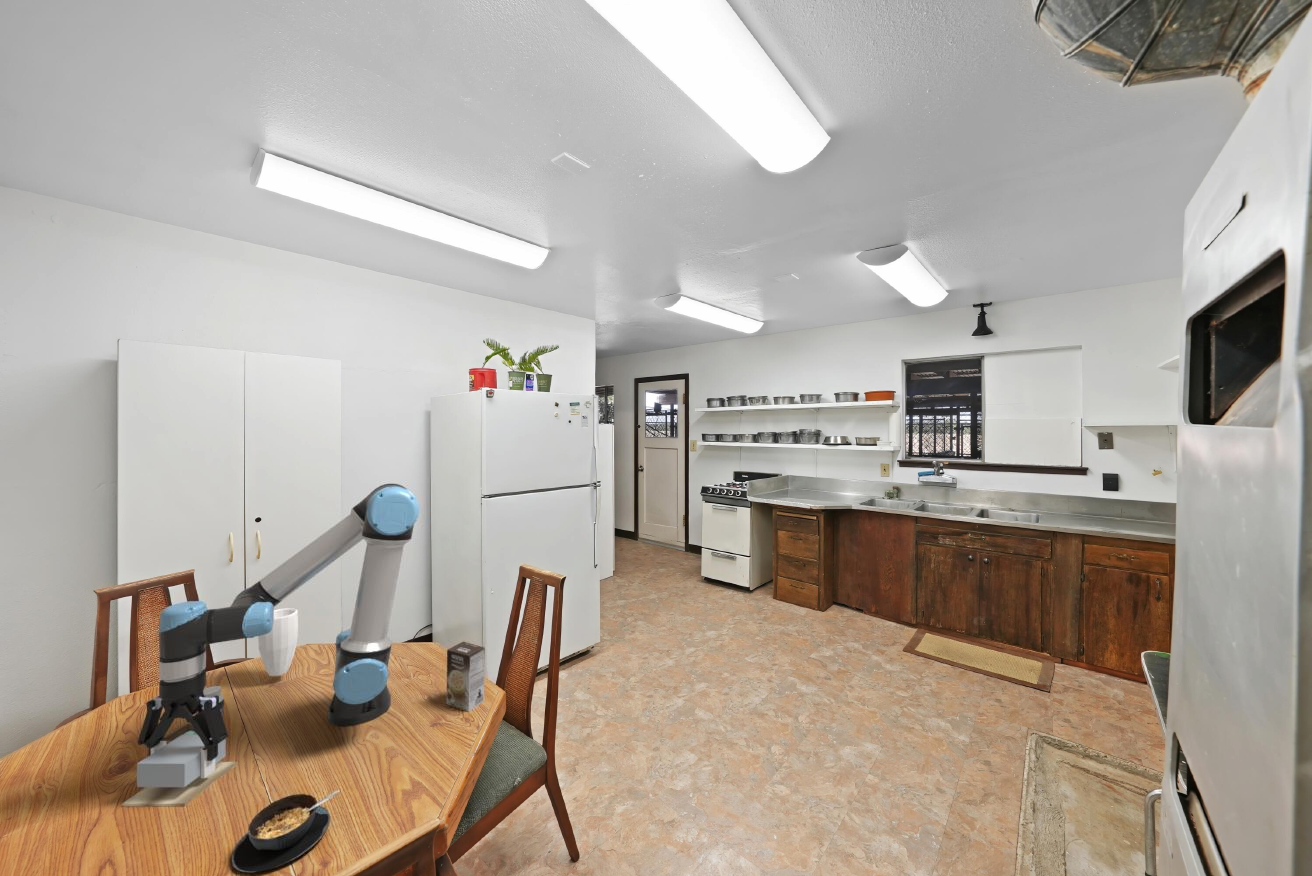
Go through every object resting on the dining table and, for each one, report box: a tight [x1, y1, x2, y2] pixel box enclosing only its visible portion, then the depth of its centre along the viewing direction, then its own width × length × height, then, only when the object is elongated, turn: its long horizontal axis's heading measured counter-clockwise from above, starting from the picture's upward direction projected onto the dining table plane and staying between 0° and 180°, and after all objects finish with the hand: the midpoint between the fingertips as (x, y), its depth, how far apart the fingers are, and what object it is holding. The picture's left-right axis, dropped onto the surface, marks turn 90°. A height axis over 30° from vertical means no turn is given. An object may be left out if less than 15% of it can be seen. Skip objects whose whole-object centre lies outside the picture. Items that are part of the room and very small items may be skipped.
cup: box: [257, 607, 299, 677], centre depth 154 cm, size 10×10×22 cm
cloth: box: [121, 761, 238, 807], centre depth 109 cm, size 13×13×1 cm
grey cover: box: [136, 735, 227, 788], centre depth 109 cm, size 10×10×5 cm
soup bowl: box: [230, 789, 341, 873], centre depth 94 cm, size 15×16×7 cm
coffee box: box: [446, 641, 486, 712], centre depth 142 cm, size 9×6×16 cm
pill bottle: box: [194, 685, 225, 722], centre depth 130 cm, size 6×6×10 cm
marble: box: [183, 731, 197, 735], centre depth 122 cm, size 3×3×3 cm
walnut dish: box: [160, 721, 198, 745], centre depth 120 cm, size 9×9×5 cm
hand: (183, 773), depth 109 cm, fingers open, 10 cm apart
